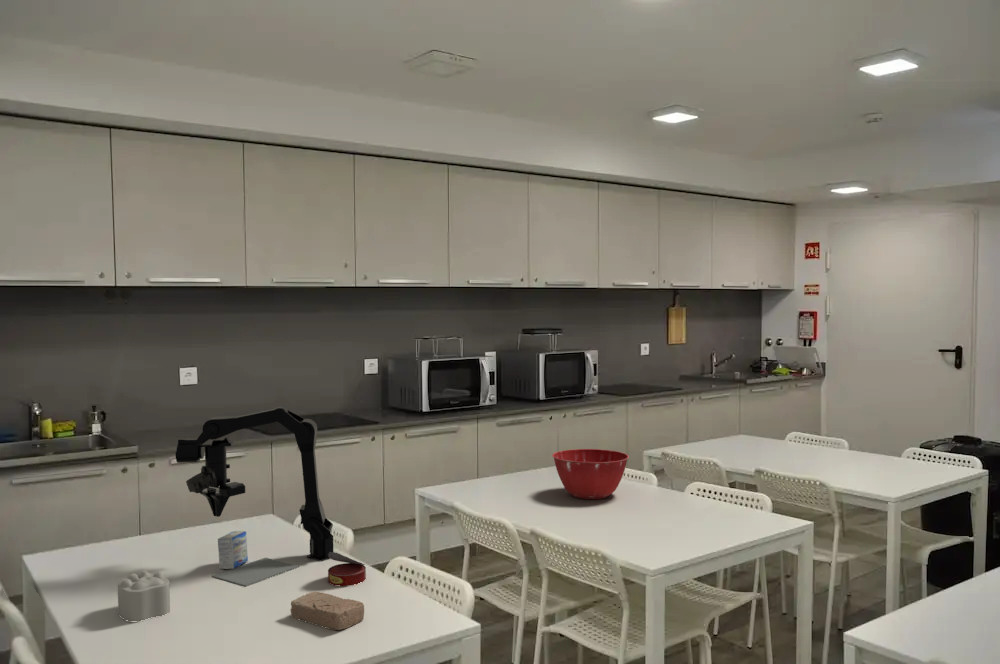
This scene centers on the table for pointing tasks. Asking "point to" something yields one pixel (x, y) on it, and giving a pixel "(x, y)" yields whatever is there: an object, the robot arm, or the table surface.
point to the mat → (255, 571)
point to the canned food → (345, 571)
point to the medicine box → (232, 550)
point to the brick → (327, 610)
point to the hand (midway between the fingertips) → (217, 516)
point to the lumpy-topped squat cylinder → (143, 596)
